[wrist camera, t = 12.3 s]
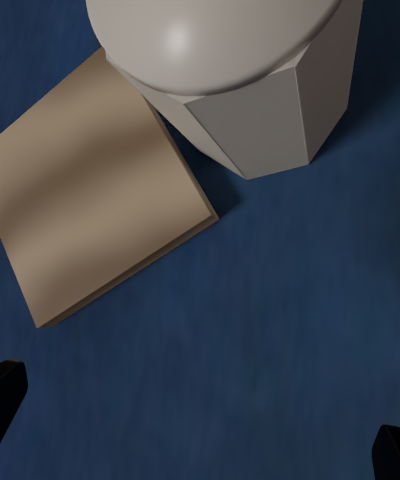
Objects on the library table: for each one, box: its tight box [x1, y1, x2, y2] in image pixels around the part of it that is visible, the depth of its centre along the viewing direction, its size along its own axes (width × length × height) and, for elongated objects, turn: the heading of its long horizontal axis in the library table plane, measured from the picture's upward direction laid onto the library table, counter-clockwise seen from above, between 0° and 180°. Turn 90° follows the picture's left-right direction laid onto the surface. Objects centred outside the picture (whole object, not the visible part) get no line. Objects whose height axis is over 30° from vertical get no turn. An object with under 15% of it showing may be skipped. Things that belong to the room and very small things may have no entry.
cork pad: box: [0, 46, 219, 328], centre depth 21 cm, size 12×12×2 cm
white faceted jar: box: [86, 0, 363, 180], centre depth 14 cm, size 8×8×10 cm
